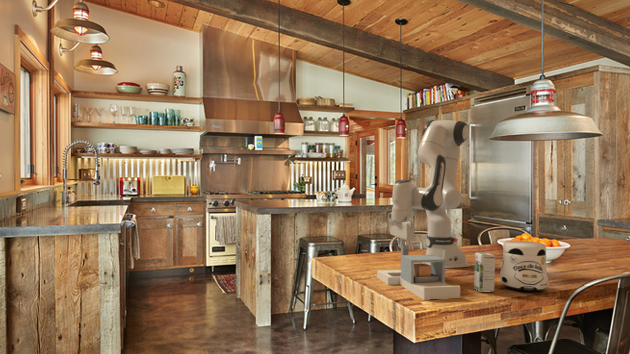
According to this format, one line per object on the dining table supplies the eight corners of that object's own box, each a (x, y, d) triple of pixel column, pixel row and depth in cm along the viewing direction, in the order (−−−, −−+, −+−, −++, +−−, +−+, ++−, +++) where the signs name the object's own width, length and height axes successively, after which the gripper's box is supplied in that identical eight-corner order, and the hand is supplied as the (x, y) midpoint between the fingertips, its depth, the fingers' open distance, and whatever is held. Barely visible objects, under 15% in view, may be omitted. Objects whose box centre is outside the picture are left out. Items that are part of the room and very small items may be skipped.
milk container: (527, 296, 164) (527, 248, 164) (490, 285, 180) (491, 241, 180) (558, 292, 172) (559, 245, 172) (520, 281, 187) (521, 239, 187)
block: (425, 278, 178) (425, 263, 178) (431, 281, 173) (431, 266, 173) (413, 278, 177) (414, 263, 177) (419, 281, 172) (419, 266, 172)
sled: (413, 268, 194) (414, 244, 194) (439, 281, 172) (439, 253, 172) (392, 269, 192) (392, 244, 192) (415, 282, 170) (415, 254, 170)
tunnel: (432, 276, 181) (433, 254, 181) (444, 282, 171) (445, 259, 171) (400, 277, 178) (401, 255, 178) (410, 283, 168) (411, 260, 168)
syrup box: (473, 289, 174) (474, 252, 174) (487, 289, 174) (488, 252, 174) (480, 293, 168) (480, 254, 168) (495, 292, 169) (495, 255, 169)
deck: (418, 276, 195) (418, 265, 195) (460, 298, 160) (460, 286, 160) (377, 277, 191) (377, 266, 191) (410, 300, 156) (411, 288, 156)
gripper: (418, 218, 186) (418, 251, 186) (399, 214, 206) (399, 244, 206) (404, 218, 185) (403, 251, 185) (387, 214, 205) (386, 244, 205)
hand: (401, 247), depth 196 cm, fingers closed
